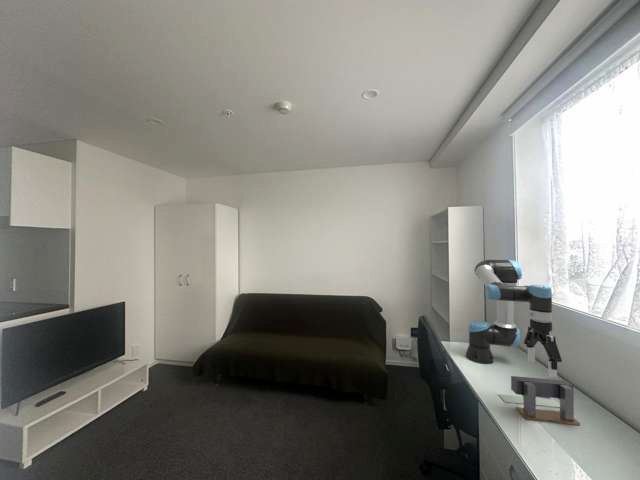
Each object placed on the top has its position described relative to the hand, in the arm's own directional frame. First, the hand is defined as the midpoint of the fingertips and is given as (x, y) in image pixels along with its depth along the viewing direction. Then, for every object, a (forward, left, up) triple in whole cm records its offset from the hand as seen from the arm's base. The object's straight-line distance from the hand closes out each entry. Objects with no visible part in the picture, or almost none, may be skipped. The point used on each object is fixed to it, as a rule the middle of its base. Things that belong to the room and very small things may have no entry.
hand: (541, 368), depth 113 cm
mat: (-9, 0, -19) cm, 21 cm away
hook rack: (+1, 0, -19) cm, 19 cm away
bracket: (-19, +11, -20) cm, 29 cm away
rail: (0, 0, -11) cm, 11 cm away
